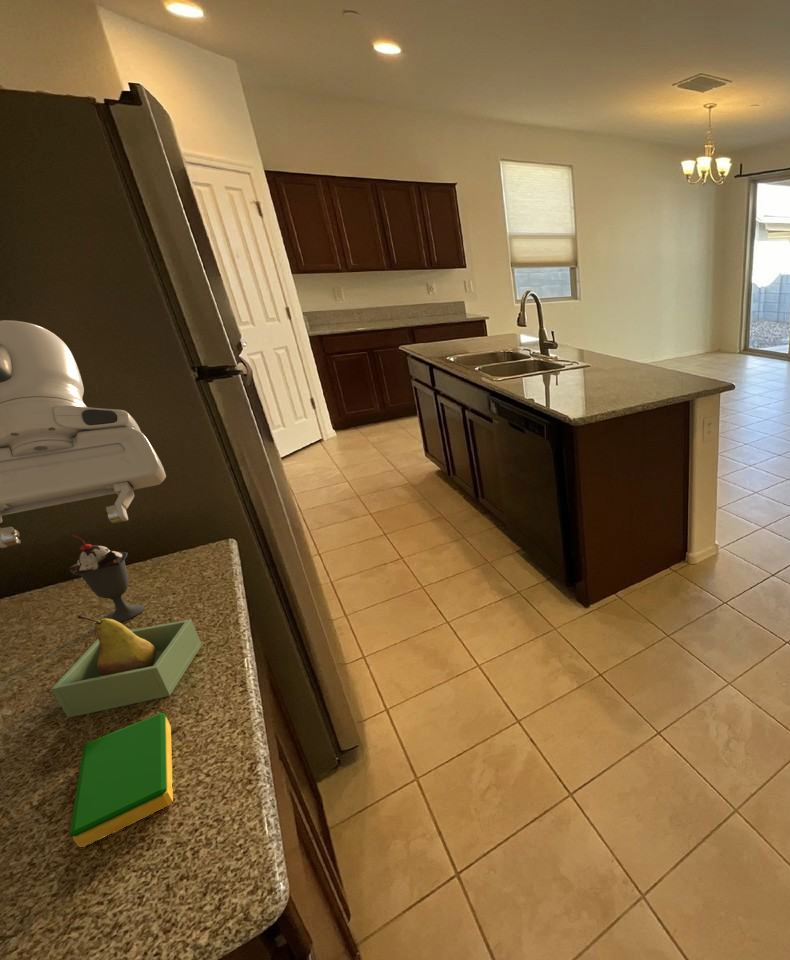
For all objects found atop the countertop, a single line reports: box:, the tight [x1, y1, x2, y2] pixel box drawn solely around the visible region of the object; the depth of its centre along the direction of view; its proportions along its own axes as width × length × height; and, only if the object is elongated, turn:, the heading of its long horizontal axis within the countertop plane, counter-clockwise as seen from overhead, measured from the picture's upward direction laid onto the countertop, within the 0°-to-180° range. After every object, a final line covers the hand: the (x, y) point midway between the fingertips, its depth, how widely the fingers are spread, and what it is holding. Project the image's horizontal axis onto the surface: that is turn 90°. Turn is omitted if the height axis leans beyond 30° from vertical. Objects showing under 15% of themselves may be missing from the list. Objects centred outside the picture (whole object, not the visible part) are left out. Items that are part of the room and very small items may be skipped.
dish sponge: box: [69, 712, 174, 848], centre depth 57 cm, size 7×14×2 cm, turn 41°
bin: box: [51, 618, 203, 719], centre depth 71 cm, size 11×11×5 cm
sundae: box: [68, 534, 145, 623], centre depth 83 cm, size 7×7×15 cm
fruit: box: [77, 614, 156, 676], centre depth 69 cm, size 6×6×12 cm
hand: (66, 532), depth 63 cm, fingers open, 8 cm apart
